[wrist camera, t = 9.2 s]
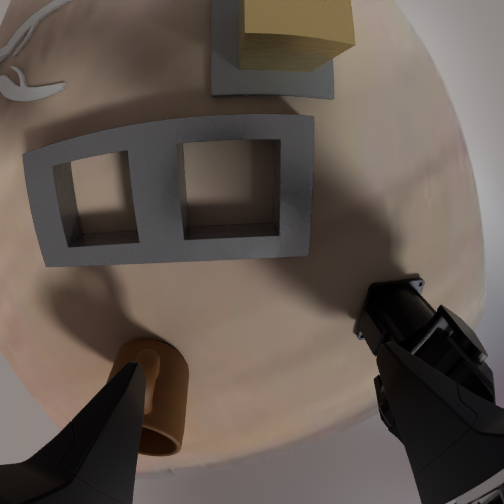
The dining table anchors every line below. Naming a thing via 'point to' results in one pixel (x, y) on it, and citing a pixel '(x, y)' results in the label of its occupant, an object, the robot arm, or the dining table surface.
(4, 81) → the pliers
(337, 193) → the dining table surface
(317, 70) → the pad
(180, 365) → the mug
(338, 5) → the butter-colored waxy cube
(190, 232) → the grey flat frame
